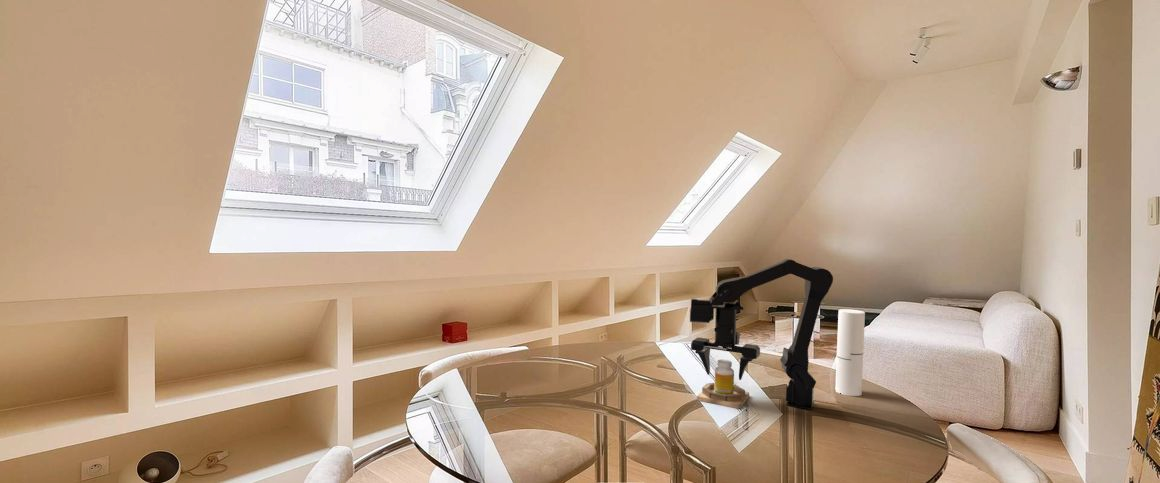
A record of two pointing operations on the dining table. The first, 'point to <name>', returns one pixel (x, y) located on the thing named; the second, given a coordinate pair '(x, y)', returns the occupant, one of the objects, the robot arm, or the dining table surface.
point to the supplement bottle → (724, 378)
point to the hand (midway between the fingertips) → (724, 377)
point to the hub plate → (723, 396)
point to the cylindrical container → (850, 352)
